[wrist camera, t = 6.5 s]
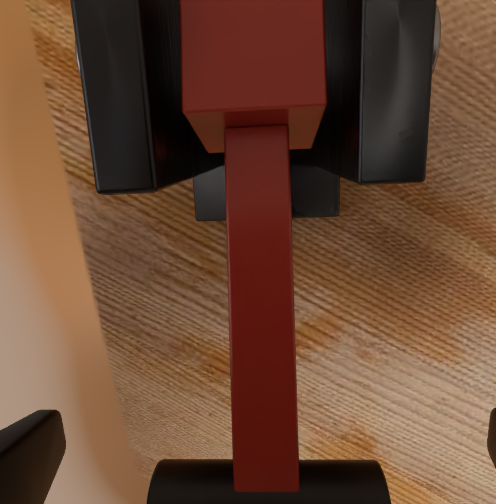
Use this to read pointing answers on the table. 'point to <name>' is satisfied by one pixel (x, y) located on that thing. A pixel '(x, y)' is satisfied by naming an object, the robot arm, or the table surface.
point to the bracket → (301, 160)
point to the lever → (259, 246)
